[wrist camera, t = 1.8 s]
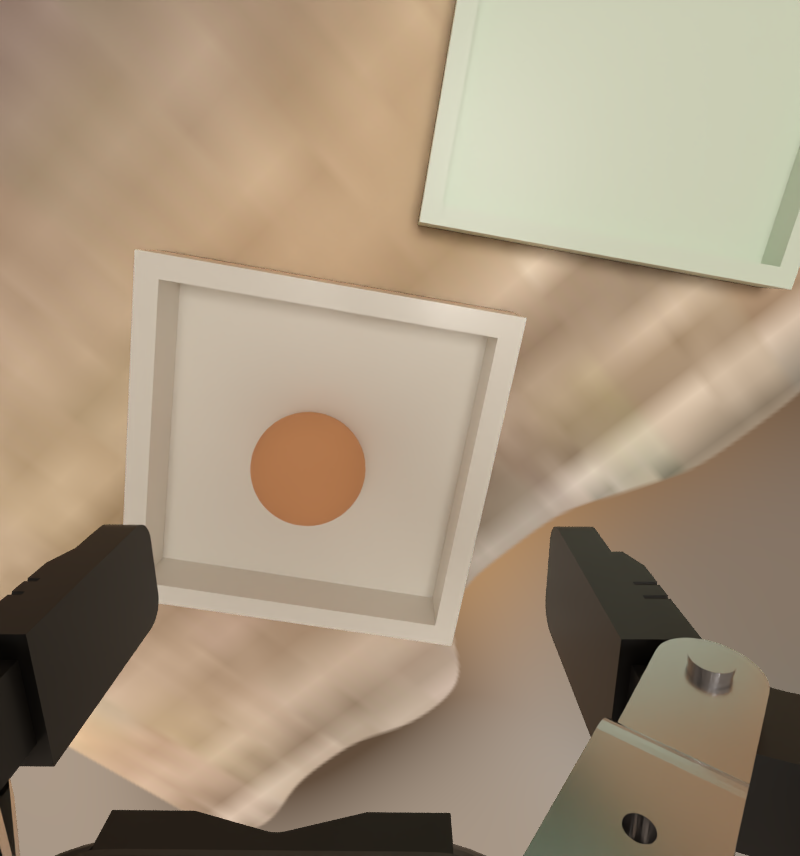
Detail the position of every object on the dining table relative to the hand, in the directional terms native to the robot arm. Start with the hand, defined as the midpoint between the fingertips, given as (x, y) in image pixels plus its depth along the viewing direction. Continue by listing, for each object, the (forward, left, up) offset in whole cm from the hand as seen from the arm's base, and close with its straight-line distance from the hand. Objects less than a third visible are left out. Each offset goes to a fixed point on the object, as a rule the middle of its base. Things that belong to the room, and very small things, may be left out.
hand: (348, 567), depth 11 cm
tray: (+9, +15, -17) cm, 24 cm away
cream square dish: (-2, -3, -17) cm, 17 cm away
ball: (-2, -3, -14) cm, 14 cm away
